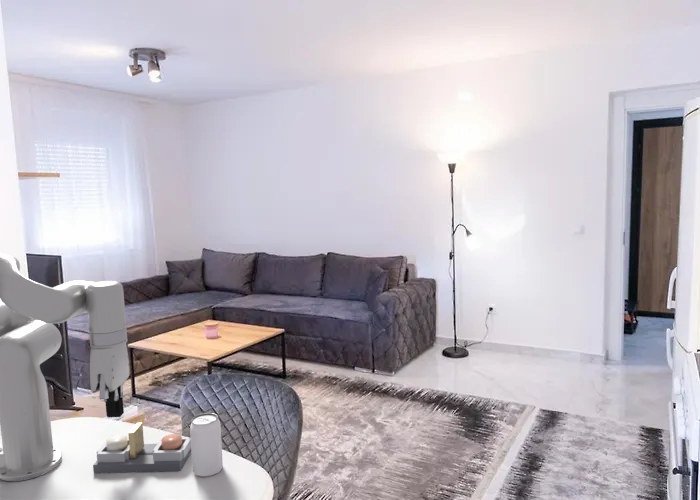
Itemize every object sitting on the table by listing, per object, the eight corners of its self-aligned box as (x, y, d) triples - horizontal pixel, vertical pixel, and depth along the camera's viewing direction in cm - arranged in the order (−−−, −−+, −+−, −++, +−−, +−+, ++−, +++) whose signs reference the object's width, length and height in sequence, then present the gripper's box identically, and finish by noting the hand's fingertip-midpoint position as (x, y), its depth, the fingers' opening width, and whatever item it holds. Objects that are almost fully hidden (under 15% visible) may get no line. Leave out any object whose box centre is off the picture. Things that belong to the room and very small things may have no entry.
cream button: (103, 453, 118) (102, 444, 117) (111, 443, 122) (111, 435, 122) (122, 452, 118) (122, 444, 117) (130, 443, 122) (130, 434, 122)
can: (214, 479, 113) (211, 426, 111) (187, 476, 114) (183, 424, 112) (227, 463, 119) (225, 413, 117) (201, 461, 120) (198, 411, 119)
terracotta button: (159, 451, 118) (158, 443, 117) (165, 442, 122) (165, 434, 122) (178, 451, 118) (178, 443, 117) (184, 441, 122) (184, 433, 122)
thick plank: (130, 458, 118) (128, 432, 117) (139, 447, 122) (137, 422, 122) (135, 458, 118) (133, 432, 117) (144, 446, 122) (142, 422, 122)
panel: (93, 473, 116) (92, 456, 115) (111, 452, 125) (110, 436, 124) (182, 471, 116) (181, 454, 115) (194, 450, 125) (193, 434, 124)
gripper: (106, 328, 124) (113, 402, 126) (74, 348, 109) (82, 431, 111) (138, 327, 124) (144, 401, 126) (110, 347, 109) (118, 430, 112)
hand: (115, 415), depth 119 cm, fingers closed
